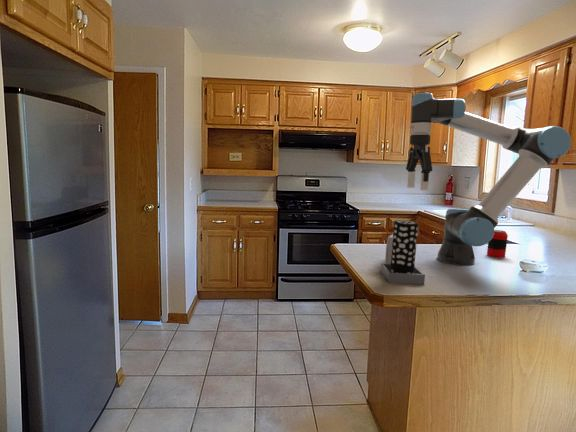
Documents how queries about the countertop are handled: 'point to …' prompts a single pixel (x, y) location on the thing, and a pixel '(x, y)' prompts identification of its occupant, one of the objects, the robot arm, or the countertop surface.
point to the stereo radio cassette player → (389, 249)
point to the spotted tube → (404, 247)
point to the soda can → (497, 244)
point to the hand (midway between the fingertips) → (417, 188)
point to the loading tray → (402, 276)
